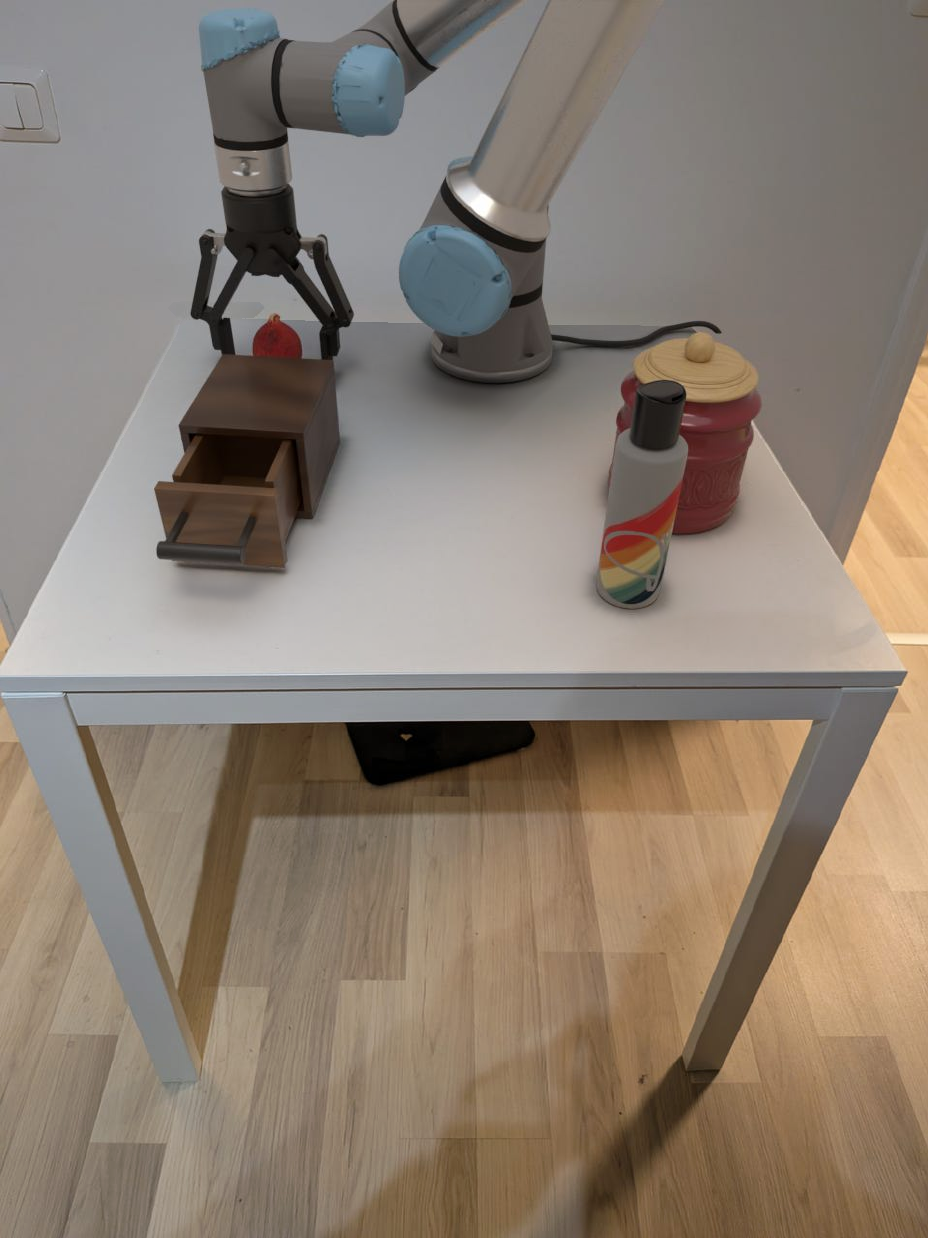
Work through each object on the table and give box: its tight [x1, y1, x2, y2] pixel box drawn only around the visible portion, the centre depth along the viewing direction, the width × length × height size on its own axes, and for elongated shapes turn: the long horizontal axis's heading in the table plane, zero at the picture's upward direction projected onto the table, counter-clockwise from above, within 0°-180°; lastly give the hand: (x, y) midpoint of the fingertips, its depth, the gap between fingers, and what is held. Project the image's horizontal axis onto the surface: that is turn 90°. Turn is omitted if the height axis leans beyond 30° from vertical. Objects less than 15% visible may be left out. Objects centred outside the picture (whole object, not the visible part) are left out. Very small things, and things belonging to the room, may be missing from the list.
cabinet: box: [178, 353, 341, 520], centre depth 93 cm, size 15×12×10 cm
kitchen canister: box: [607, 331, 763, 534], centre depth 88 cm, size 13×13×18 cm
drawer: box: [153, 434, 303, 569], centre depth 84 cm, size 19×10×8 cm, turn 175°
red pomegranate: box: [251, 312, 303, 358], centre depth 110 cm, size 6×6×8 cm
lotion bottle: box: [596, 380, 688, 610], centre depth 77 cm, size 6×6×20 cm
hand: (280, 376), depth 112 cm, fingers open, 11 cm apart
